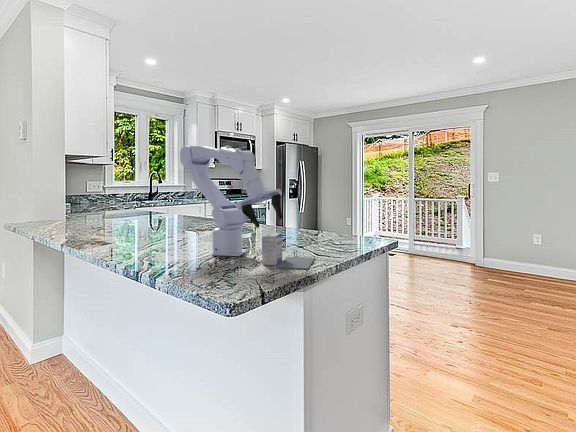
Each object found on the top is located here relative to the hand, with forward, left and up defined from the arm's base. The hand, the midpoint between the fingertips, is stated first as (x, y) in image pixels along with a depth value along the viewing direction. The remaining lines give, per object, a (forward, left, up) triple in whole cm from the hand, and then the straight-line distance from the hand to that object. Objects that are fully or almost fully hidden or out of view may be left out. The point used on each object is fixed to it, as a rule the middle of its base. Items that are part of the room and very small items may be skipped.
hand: (269, 222), depth 112 cm
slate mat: (+9, -1, -12) cm, 15 cm away
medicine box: (+1, -1, -12) cm, 12 cm away
